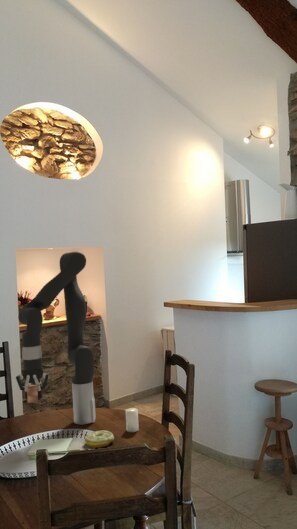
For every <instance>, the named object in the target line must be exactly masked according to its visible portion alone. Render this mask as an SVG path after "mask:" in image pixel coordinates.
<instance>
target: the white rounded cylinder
mask: <svg viewBox="0 0 297 529" xmlns="http://www.w3.org/2000/svg"><path fill="white" fill-rule="evenodd" d="M138 410H139V409H138V408H134V407H132V408H127V409H125V424H126V428H125V429H126V432H127V433H135V432H138V431H139V430H140V428H139V427H140V426H139V425H140V424H139V411H138Z"/></svg>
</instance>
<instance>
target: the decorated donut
mask: <svg viewBox="0 0 297 529" xmlns="http://www.w3.org/2000/svg"><path fill="white" fill-rule="evenodd" d="M114 440H115V436H114V434H113V433H112V432H111V431H109V430H96V431H92V432H89V433H87V434H86V435H85V437H84V443H85V444H86V445H87V446H88V447H89V448H91V449H92V448H93V449H98V448H99V449H100V448H105V447H107V446H109V445H110V444H111V443H112V442H113V441H114Z"/></svg>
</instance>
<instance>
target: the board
mask: <svg viewBox="0 0 297 529" xmlns="http://www.w3.org/2000/svg"><path fill="white" fill-rule="evenodd" d="M73 440H74V438H73V437H69V438H68V437H65V438H49V439H36V441H35V442H34V444H33V445H32V446H31V448H30V449H29V451H27V456H36V455H35V452H36V450H37V449H45V448H46V449H48V453H50V452H60V451H67V450H68V449H70V448H71V446H72V443H73V442H74V441H73ZM69 447H70V448H69ZM68 451H69V450H68Z"/></svg>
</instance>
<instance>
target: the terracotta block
mask: <svg viewBox="0 0 297 529" xmlns="http://www.w3.org/2000/svg"><path fill="white" fill-rule="evenodd" d="M27 399H28V401H27V403H28V404H30V403H31V404H32V403H33V404H34V403H38V402H39V401H40V400H38V387H37V386H36V384H30V386H29V387H27ZM27 399H26V400H27Z"/></svg>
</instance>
